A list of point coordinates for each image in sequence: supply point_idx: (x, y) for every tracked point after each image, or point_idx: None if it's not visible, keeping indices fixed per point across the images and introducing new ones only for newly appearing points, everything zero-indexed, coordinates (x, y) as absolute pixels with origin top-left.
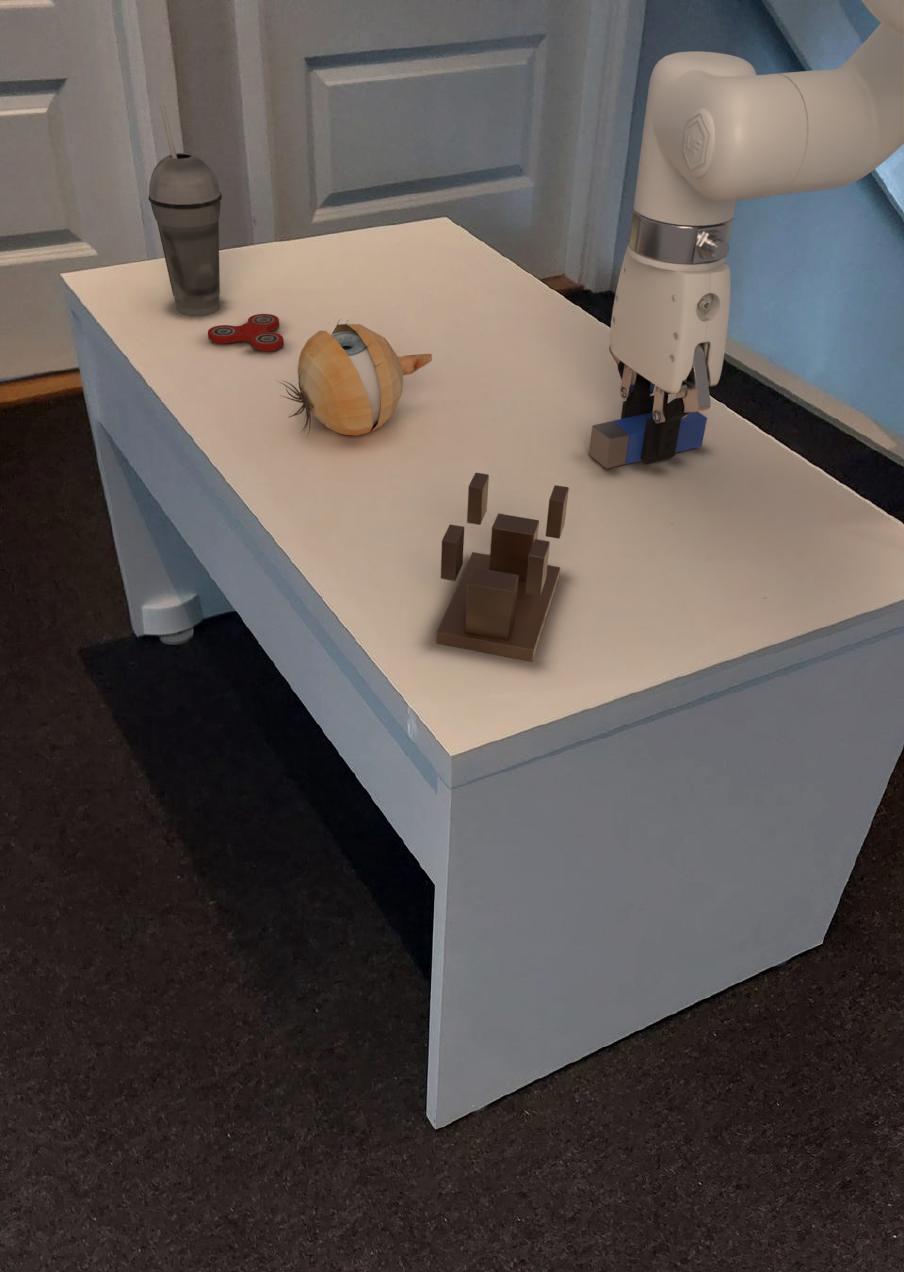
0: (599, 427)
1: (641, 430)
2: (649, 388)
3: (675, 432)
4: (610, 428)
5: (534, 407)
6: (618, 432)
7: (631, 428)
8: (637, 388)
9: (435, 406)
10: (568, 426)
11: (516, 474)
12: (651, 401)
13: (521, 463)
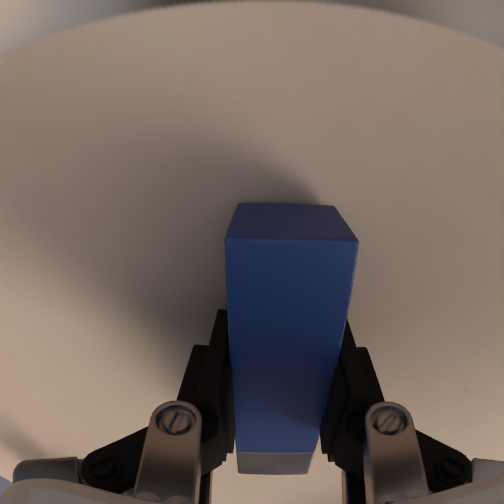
0: (254, 471)
1: (312, 433)
2: (203, 443)
3: (377, 386)
4: (268, 464)
5: (55, 382)
6: (292, 461)
7: (291, 443)
8: (201, 468)
9: (62, 448)
10: (121, 385)
11: (246, 478)
12: (228, 411)
13: (221, 468)
